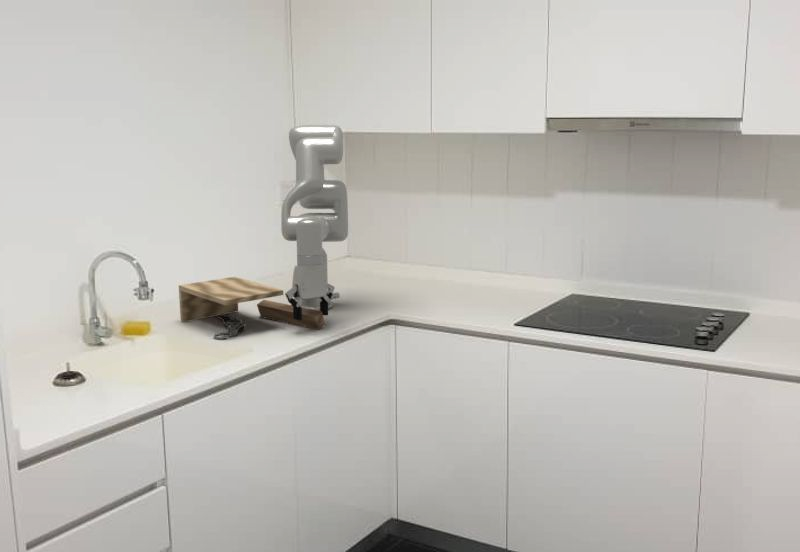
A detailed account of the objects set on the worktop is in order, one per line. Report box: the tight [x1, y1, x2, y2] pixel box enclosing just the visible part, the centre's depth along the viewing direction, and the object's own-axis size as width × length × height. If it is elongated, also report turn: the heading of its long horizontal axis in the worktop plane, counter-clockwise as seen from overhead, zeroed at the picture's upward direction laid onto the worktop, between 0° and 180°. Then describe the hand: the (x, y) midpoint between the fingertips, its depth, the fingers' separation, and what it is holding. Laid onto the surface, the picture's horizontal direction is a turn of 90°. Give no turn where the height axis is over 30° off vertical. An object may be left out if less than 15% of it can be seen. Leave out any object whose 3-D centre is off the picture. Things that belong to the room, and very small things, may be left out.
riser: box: [178, 276, 284, 323], centre depth 255 cm, size 20×28×12 cm
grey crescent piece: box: [212, 315, 246, 341], centre depth 252 cm, size 28×2×10 cm
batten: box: [256, 299, 326, 331], centre depth 257 cm, size 3×26×5 cm, turn 51°
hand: (311, 317), depth 248 cm, fingers open, 9 cm apart
